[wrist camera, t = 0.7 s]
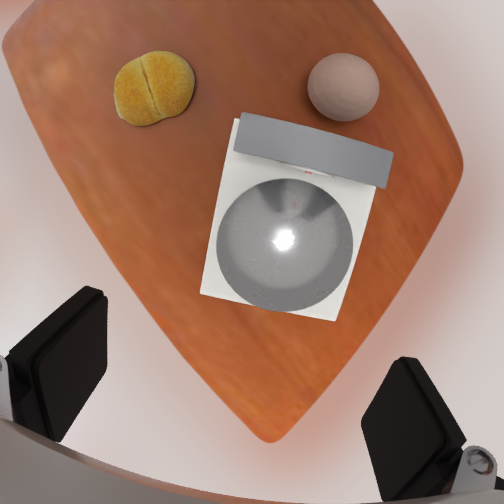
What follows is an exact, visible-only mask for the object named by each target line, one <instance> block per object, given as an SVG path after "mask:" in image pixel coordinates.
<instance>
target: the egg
mask: <svg viewBox="0 0 504 504" xmlns="http://www.w3.org/2000/svg"><path fill="white" fill-rule="evenodd" d="M307 87H308V94H309V98H310V100H311V102H312V103H313V105H314V106H315V108H316V109H317V110H318V111H319V112H320V113H321V114H323V115H324V116H326V117H328V118H330V119H333V120H335V121H353V120H356V119H359V118H361V117H363V116H364V115H366V114H367V113H368V112H369V111H371V109H372V108H373V107H374V105H375V103H376V101H377V99H378V96H379V82H378V78H377V75H376V73H375V71H374V69H373V68H372V67H371V65H370V64H369V63H368V62H366V61H365V60H364V59H362V58H360V57H358V56H355V55H352V54H348V53H337V54H332V55H329V56H327V57H325V58H323V59H321V60H320V61H319V62H318V63H317V64H316V65H315V66H314V68H313V69H312V71H311V73H310V75H309V79H308V85H307Z"/></svg>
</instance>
